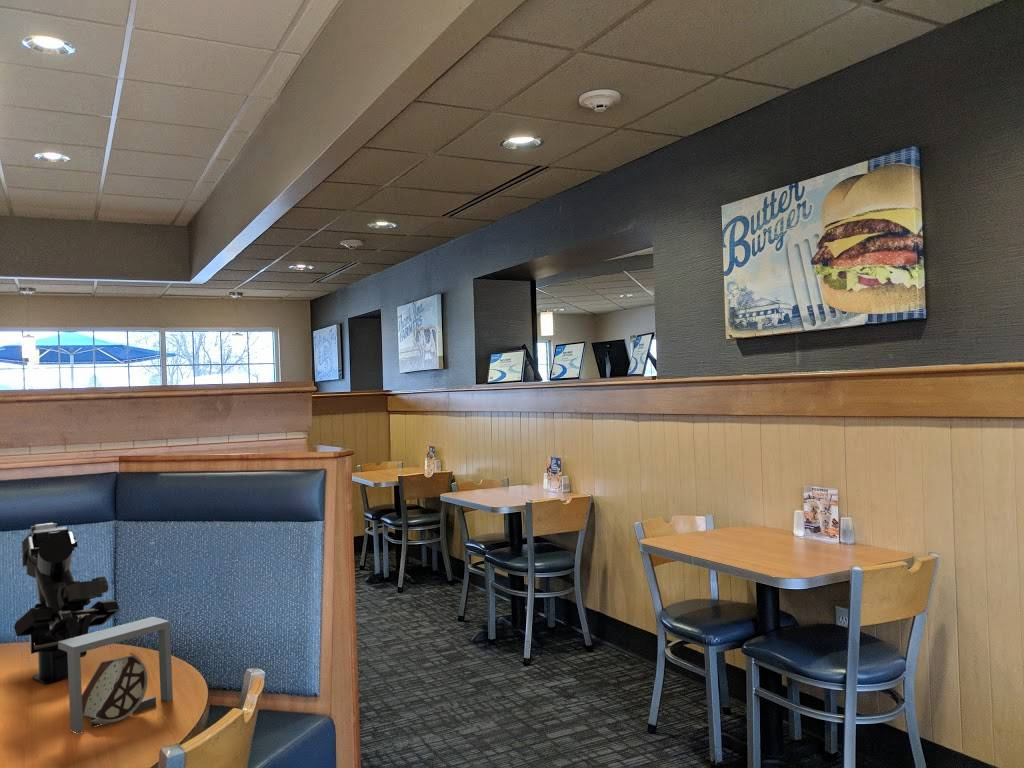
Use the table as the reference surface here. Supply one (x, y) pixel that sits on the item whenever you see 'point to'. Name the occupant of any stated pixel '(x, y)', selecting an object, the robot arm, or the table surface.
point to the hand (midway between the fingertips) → (83, 656)
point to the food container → (115, 690)
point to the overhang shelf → (109, 637)
